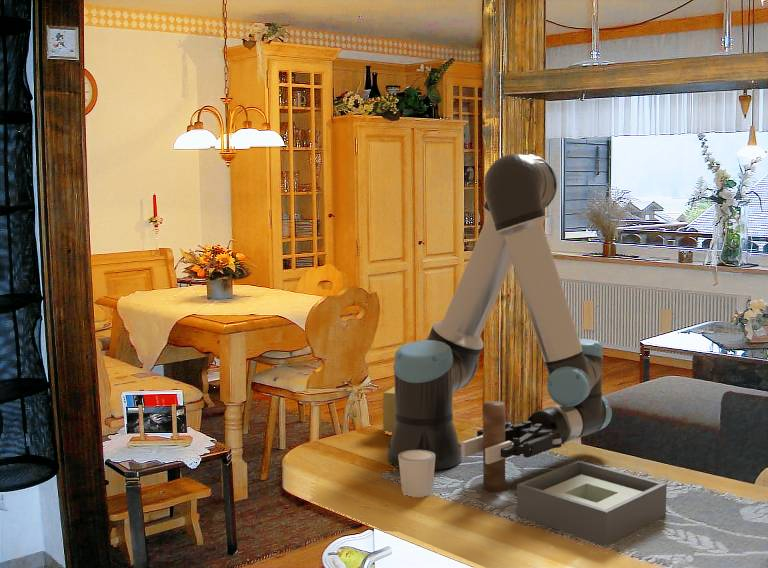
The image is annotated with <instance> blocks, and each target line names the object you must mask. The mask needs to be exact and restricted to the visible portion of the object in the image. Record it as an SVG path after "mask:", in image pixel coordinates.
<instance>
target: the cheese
mask: <svg viewBox="0 0 768 568" xmlns="http://www.w3.org/2000/svg"><path fill="white" fill-rule="evenodd" d="M382 395H383V396H382V426H383V432H384V431H388V432H392V433H393V429H394V426H395V385H394V386H393V387H391V388H389V389H388V390H387V391H384V392H383V393H382Z"/></svg>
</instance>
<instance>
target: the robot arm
mask: <svg viewBox="0 0 768 568" xmlns="http://www.w3.org/2000/svg"><path fill="white" fill-rule="evenodd" d="M557 190H558V178H557V174H556V172H555V169H554V167H553V166H552V165H551V164H550V163H549V162H547V160H545V159H544V158H542V157H540V156H538V155H535V154H531V153H522V154H521V153H511V154H510V153H509V154H505V155H502V156H501V157H499V158H498V159H496V160H495V161H494V162H493V163H492V164H491V165H490V167H489V168H488V169H487V171H486V173H485V176H484V181H483V191H484V196H485V197H484V198H485V203H484V205H483V210H484V213H485V215H486V219H485V221H484V224H483V226H482V228H481V231H480V233H479V235H478V238H477V240H476V242H475V244H474V247H473V249H472V252H471V254H470V256H469V259H468V260H467V263H466V265H465V268H464V270H463V273H462V275H461V277H460V280H459V282H458V284H457V287H456V288H455V289H456V290H455V291H454V293H453V296H452V298H451V301H450V303H449V305H448V307H447V310H446V312H445V315H444V317H443V319H442V320H439V321H436V322H434V323H433V324H432V326H431V330H429V331H430V332H429V334H428V336H427V338H426V340H425V339H424V340H416V341H413V342H408V343H406V344H402V345H401V346H400V347H398V348H397V349H396V351H395V353H394V362H393V372H394V373H393V376H394V378H393V379H394V386H395V426H394V429H393V433H392V435H391V438H390V442H389V444H388V446H387V450H386V452H387V454H386V455H387V457H386V458H388V459H387V462H388V461H389V462H390V463H392V464H393V465H392V464H391V465H392V466H394V465H396V466H398V467H397V468H399V459H398V454H400V453H401V452H404V451H408V450H427V451H430V452H433V453H434V454H435V468H434V471H439V470H440V471H441V470H446V469H449V468H453V467H455V466H457V465H459V464H460V463H461V462H462V459H463V458H467V457H470V456H472V455H475V454H478V453H481V452H483V428H481V429H478V430H476V437H472V438H470V439H467V440H464V441H461V443H459V438H458V434H457V430H456V428H455V427H456V426H455V425H454V424H455V423H454V417H453V414H454V413H453V408H454V407H453V405H454V404H453V403H454V401H453V400H454V397H453V396H454V394H455V393H456V392H458V391H459V390H462V389H463V388H465V387H466V386H467V385H469V383H470V382H471V381H472V380H473V378H474V377H475V376H476V373H477V370H478V367H479V358H480V355H481V353H482V351H483V349H484V341H483V340H482V338H481V336H482V332H483V331H484V328H485V326H486V324H487V321H488V319H489V317H490V314H491V312H492V310H493V309H494V305H495V303H496V301H497V299H498V297H499V295H500V292H501V290H502V287H503V285H504V284H505V281H506V280H507V279H506V278H507V276H508V275H509V272H510V270H511V268H512V265H513V268H514V269H513V270H514V272H515V275H516V279H517V282H518V285H519V287H520V290H521V294H522V297H523V300H524V303H525V306H526V309H527V312H528V315H529V318H530V319H529V320H530V322H531V324H532V329H533V331H534V334H535V337H536V340H537V344H538V346H539V349H540V353H541V355H542V359H543V363H544V364H545V368H546V373H547V376H548V379H547V386H546V387H547V394H548V395H549V396H550V399H551V400H552V401H553V402H555V403H556V404H555V405H551V406H549V407H546V408H543V409H539V410H536V411H534V412H533V413H532V414H531V415H530V416H529V418H528V419H527V420H525V421H522V422H520V423H516V424H515V423H514V424H512V423H511V420H510V419H509V420H508V419H505V442H503V443H500V444H497V445H494V446H491V447H488V448H485V463H486V464H491V463H493V462H496V461H499V460H502V459H505V460H506V459H507V458H510V457H512V456H514V457H519V456H521V455H523V458H526V459H527V458H531V457H534V456H536V455H539V454H541V453H544V452H547V451H549V450H553V449H558V448H561V447H562V446H563V445H566V443H568V442H571V441H574V440H577V439H579V438H583V437H585V436H588V435H592V434H595V433H597V432H599V431H601V430H603V429H604V428H606V427H607V426H608V425H609V424H610V422H611V420H612V417H613V416H612V415H613V410H612V408H611V406H610V402H609V401H608V399H607V398H605V397H604V396H603V391H602V390H603V389H602V388H603V386H602V385H603V360H604V356H603V345H602V343H601V342H599V340H595V339H592V338H591V339H589V338H579V335H578V331H577V328H576V325H575V322H574V319H573V315H572V312H571V310H570V305H569V304H568V300H567V297H566V294H565V290H564V287H563V285H562V281H561V278H560V274H559V272H558V268H557V266H556V262H555V259H554V256H553V253H552V250H551V247H550V243H549V240H548V237H547V234H546V232H545V228H544V225H543V224H544V222H545V219H546V218H547V216H546V213H545V210H546V208H547V207H549V206H550V205H551V203H552V202H553V201H554V199H555V196H556V194H557ZM389 462H388V463H389ZM390 463H389V464H390ZM396 466H395V467H396Z"/></svg>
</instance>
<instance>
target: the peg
mask: <svg viewBox="0 0 768 568" xmlns="http://www.w3.org/2000/svg"><path fill="white" fill-rule="evenodd" d="M505 421H506V403H505V402H503V401H500V400H489V401H484V402H483V403H482V429H483V451H482V452H483V453H482V457H483V460H482V462H483V464H482V468H483V469H482V473H483V474H482V479H483V483H482V485H483V487H482V489H483V491H485V492H488V493H502V492H505V491H506V458H505V459H502V460H499V461H496V462H493V463H491V464H486V463H485V448H488V447H491V446H494V445H497V444H500V443H503V442H505Z"/></svg>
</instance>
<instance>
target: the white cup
mask: <svg viewBox="0 0 768 568" xmlns="http://www.w3.org/2000/svg"><path fill="white" fill-rule="evenodd" d="M398 459H399V467H398V468H399V476H400V484H401V485H400V486H401V492H403V493H404V494H405V495H404V494H403V493H402V494H403V495H404V496H406V495H408V496H407V497H409V496H412V497H411V498H423V497H424V496H425V497H428V496H431V495H432V494H433V492H434V490H433V489H434V477H435V470H434V468H435V454H434V453H433V452H430V451H427V450H408V451H404V452H401V453H400V454H398Z"/></svg>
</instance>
